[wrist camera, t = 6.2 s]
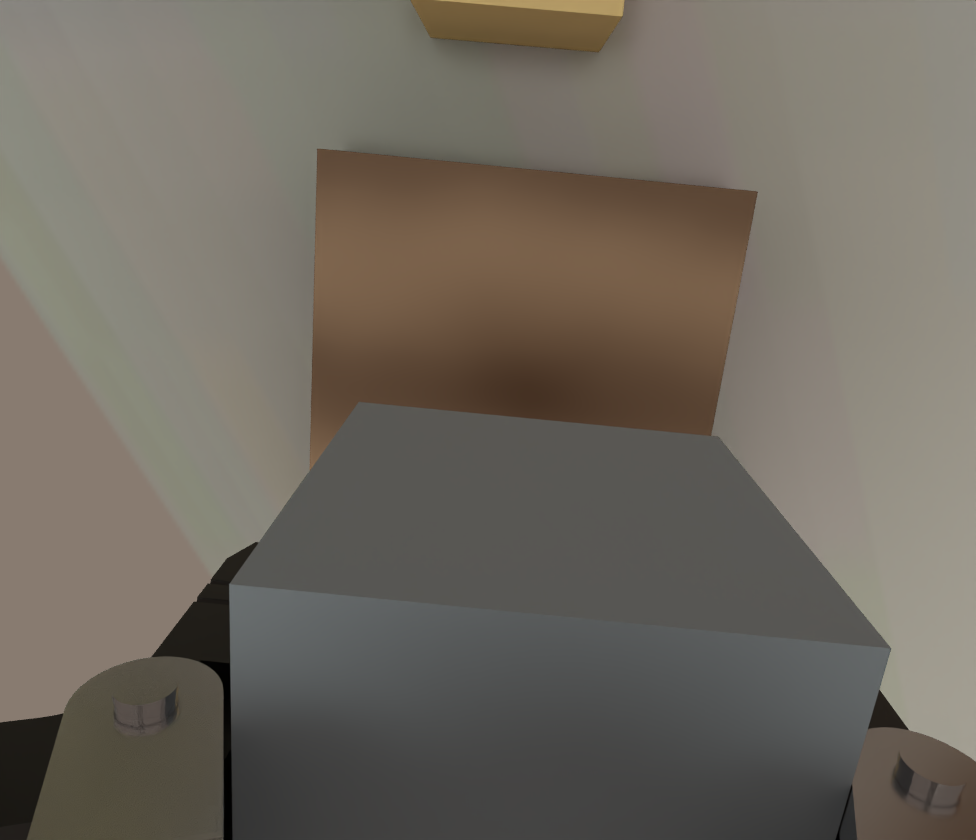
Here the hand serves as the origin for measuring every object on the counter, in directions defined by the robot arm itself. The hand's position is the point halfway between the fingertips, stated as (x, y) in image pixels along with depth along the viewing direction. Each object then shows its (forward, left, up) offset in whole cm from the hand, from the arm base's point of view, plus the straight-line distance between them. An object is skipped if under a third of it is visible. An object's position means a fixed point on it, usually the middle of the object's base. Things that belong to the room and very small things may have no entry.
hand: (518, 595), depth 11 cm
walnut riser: (0, 0, -15) cm, 15 cm away
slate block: (0, 0, 0) cm, 0 cm away
